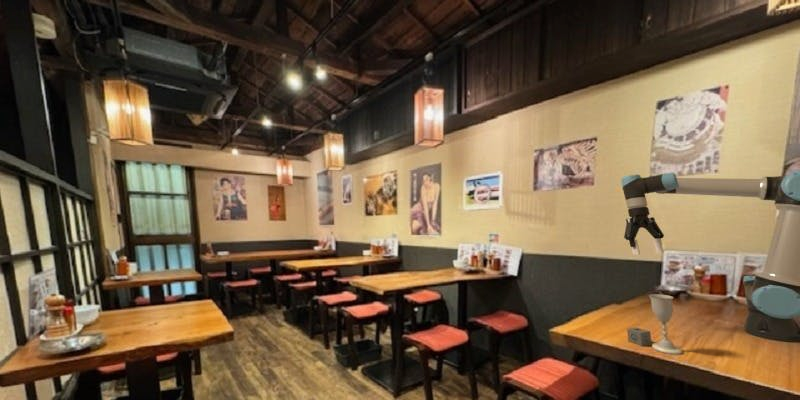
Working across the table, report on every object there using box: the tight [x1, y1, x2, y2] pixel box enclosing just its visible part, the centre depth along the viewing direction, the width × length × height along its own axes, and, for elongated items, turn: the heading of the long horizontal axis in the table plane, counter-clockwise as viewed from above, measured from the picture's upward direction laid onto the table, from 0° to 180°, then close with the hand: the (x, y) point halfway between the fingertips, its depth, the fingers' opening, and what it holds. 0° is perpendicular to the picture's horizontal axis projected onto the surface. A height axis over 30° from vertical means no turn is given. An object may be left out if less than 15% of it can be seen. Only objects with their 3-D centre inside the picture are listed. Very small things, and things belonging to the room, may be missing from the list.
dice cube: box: [626, 326, 653, 347], centre depth 114 cm, size 5×5×5 cm
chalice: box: [648, 293, 676, 350], centre depth 108 cm, size 7×7×18 cm
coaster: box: [651, 342, 683, 356], centre depth 107 cm, size 8×8×1 cm
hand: (648, 253), depth 133 cm, fingers open, 13 cm apart
